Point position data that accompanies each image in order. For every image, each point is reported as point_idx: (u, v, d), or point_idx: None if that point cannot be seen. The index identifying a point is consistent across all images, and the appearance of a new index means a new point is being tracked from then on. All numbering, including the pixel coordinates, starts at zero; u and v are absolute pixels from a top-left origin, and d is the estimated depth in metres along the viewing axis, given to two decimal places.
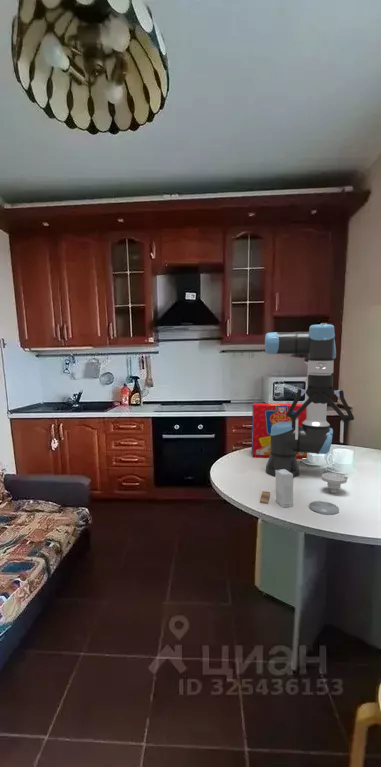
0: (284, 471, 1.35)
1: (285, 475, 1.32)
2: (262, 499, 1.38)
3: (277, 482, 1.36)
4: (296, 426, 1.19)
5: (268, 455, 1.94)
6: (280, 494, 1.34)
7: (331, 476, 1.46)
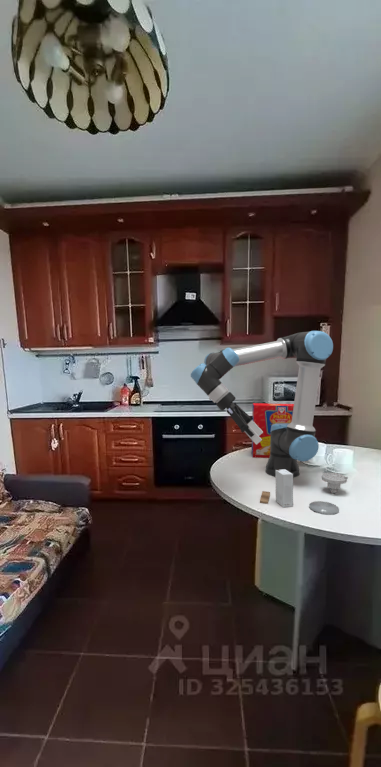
0: (284, 471, 1.35)
1: (285, 475, 1.32)
2: (262, 499, 1.38)
3: (277, 482, 1.36)
4: None
5: (268, 455, 1.94)
6: (280, 494, 1.34)
7: (331, 476, 1.46)
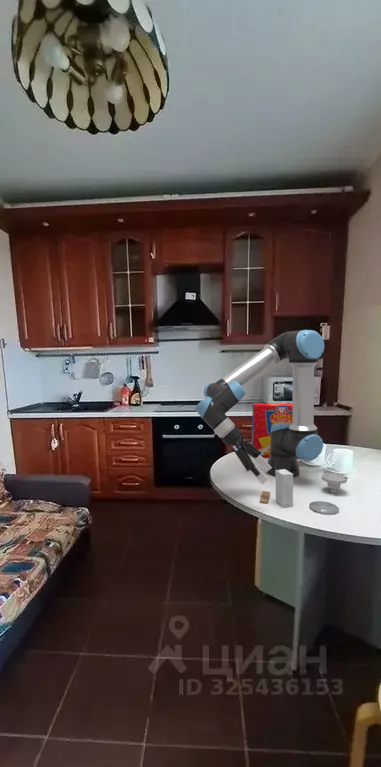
0: (284, 471, 1.35)
1: (285, 475, 1.32)
2: (262, 499, 1.38)
3: (277, 482, 1.36)
4: None
5: (268, 455, 1.94)
6: (280, 494, 1.34)
7: (331, 476, 1.46)
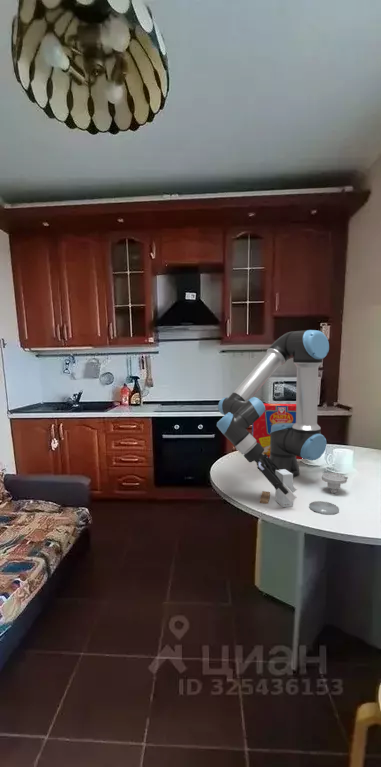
0: (284, 471, 1.35)
1: (285, 475, 1.32)
2: (262, 499, 1.38)
3: None
4: None
5: (268, 455, 1.94)
6: (280, 494, 1.34)
7: (331, 476, 1.46)
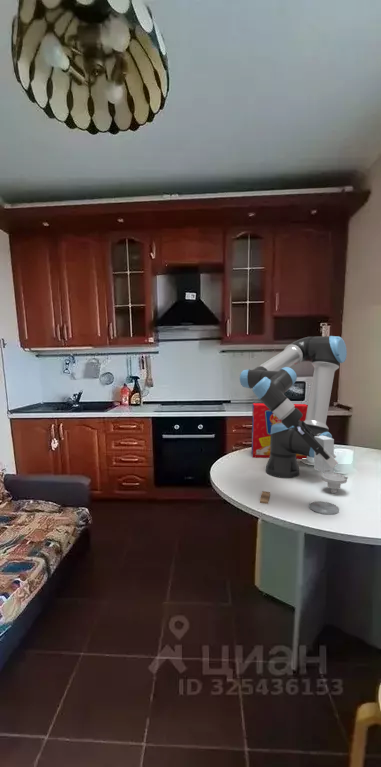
0: (324, 437, 1.30)
1: (326, 440, 1.26)
2: (262, 499, 1.38)
3: None
4: None
5: (268, 455, 1.94)
6: (320, 460, 1.29)
7: (331, 476, 1.46)
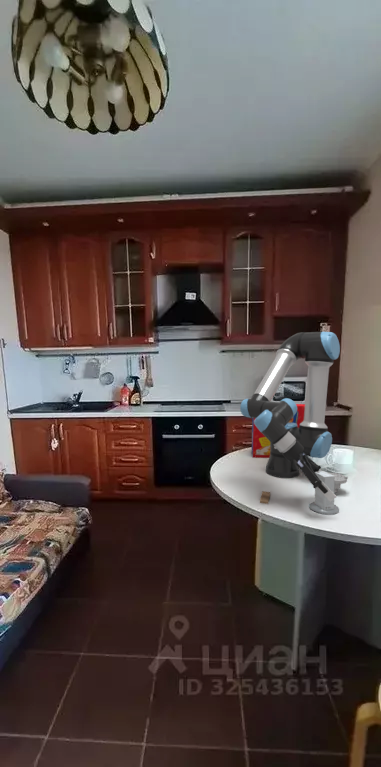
0: (324, 473, 1.31)
1: (327, 477, 1.28)
2: (262, 499, 1.38)
3: None
4: None
5: (268, 455, 1.94)
6: (320, 497, 1.30)
7: None
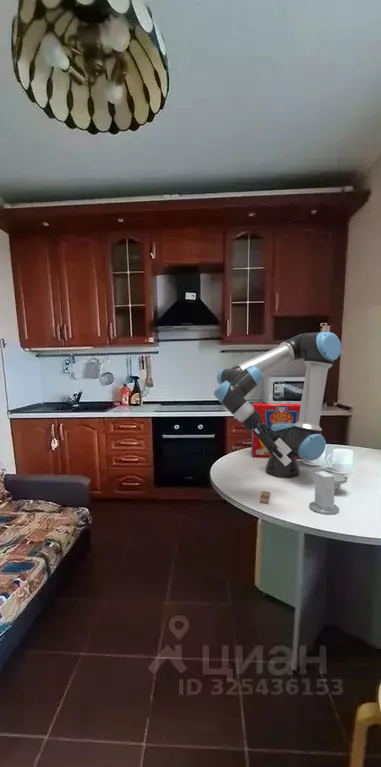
0: (324, 473, 1.31)
1: (327, 477, 1.28)
2: (262, 499, 1.38)
3: (317, 484, 1.32)
4: None
5: (268, 455, 1.94)
6: (320, 497, 1.30)
7: None
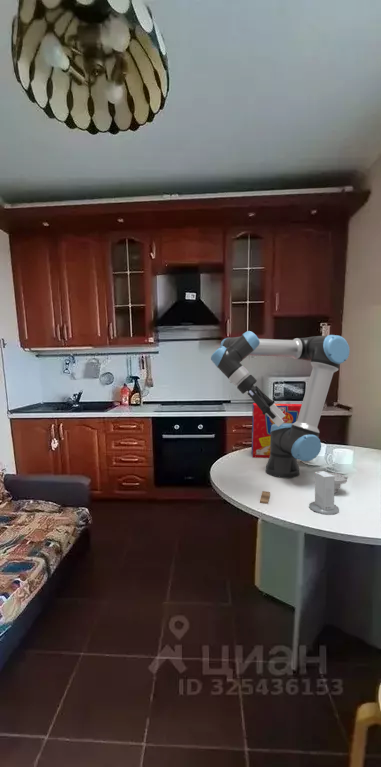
0: (324, 473, 1.31)
1: (327, 477, 1.28)
2: (262, 499, 1.38)
3: (317, 484, 1.32)
4: None
5: (268, 455, 1.94)
6: (320, 497, 1.30)
7: None
